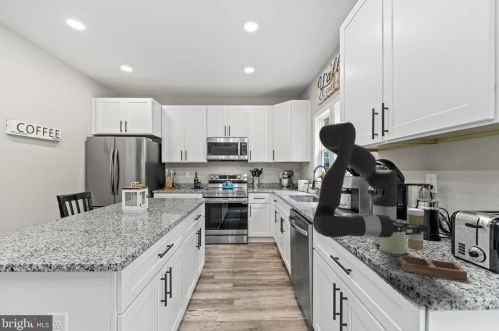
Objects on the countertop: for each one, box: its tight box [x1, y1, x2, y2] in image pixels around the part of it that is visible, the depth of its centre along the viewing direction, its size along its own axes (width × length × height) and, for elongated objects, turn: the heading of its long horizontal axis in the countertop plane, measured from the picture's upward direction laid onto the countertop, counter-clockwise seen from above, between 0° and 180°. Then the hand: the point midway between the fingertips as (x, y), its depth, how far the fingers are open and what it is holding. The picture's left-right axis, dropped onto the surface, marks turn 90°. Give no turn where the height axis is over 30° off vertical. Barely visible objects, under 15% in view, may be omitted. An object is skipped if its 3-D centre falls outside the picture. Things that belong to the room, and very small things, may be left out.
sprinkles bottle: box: [407, 207, 425, 251], centre depth 83 cm, size 5×5×13 cm
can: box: [379, 232, 406, 255], centre depth 102 cm, size 9×9×12 cm
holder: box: [398, 254, 468, 281], centre depth 82 cm, size 8×16×2 cm, turn 66°
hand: (423, 226), depth 83 cm, fingers closed on sprinkles bottle, 4 cm apart
